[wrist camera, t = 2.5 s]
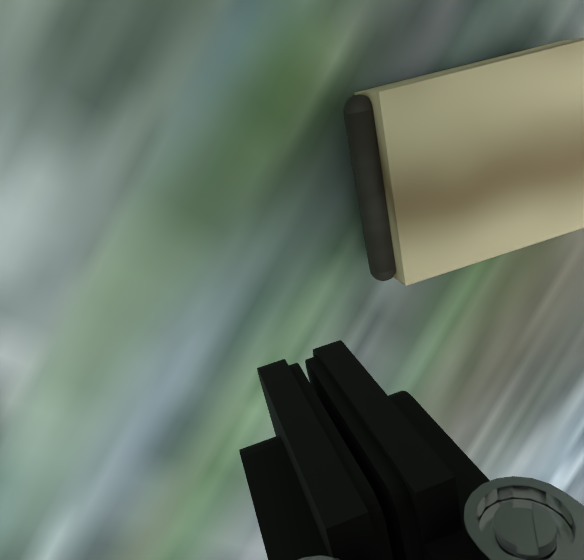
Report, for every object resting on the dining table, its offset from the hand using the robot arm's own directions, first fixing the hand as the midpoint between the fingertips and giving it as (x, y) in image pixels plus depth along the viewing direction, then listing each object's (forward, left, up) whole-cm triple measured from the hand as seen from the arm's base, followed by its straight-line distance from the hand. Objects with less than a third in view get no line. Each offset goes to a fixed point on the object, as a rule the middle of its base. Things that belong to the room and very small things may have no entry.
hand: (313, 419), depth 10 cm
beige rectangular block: (-1, +12, -14) cm, 18 cm away
